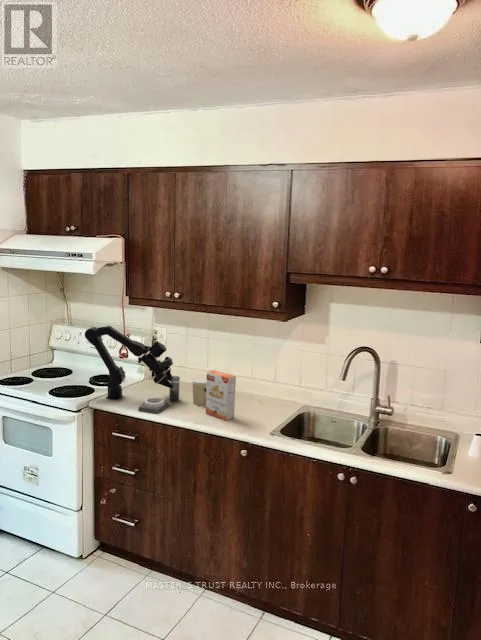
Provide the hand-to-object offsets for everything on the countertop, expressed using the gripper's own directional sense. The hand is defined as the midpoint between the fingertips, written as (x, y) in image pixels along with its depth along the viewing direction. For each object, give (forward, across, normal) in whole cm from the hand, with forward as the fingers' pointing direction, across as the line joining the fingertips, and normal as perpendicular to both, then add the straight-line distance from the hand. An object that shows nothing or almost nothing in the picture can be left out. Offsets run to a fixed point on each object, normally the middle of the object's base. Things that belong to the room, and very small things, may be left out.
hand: (173, 385), depth 266 cm
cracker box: (+24, -19, -12) cm, 33 cm away
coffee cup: (+16, -2, -4) cm, 17 cm away
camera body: (+1, -14, +11) cm, 17 cm away
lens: (+6, 0, +6) cm, 8 cm away
